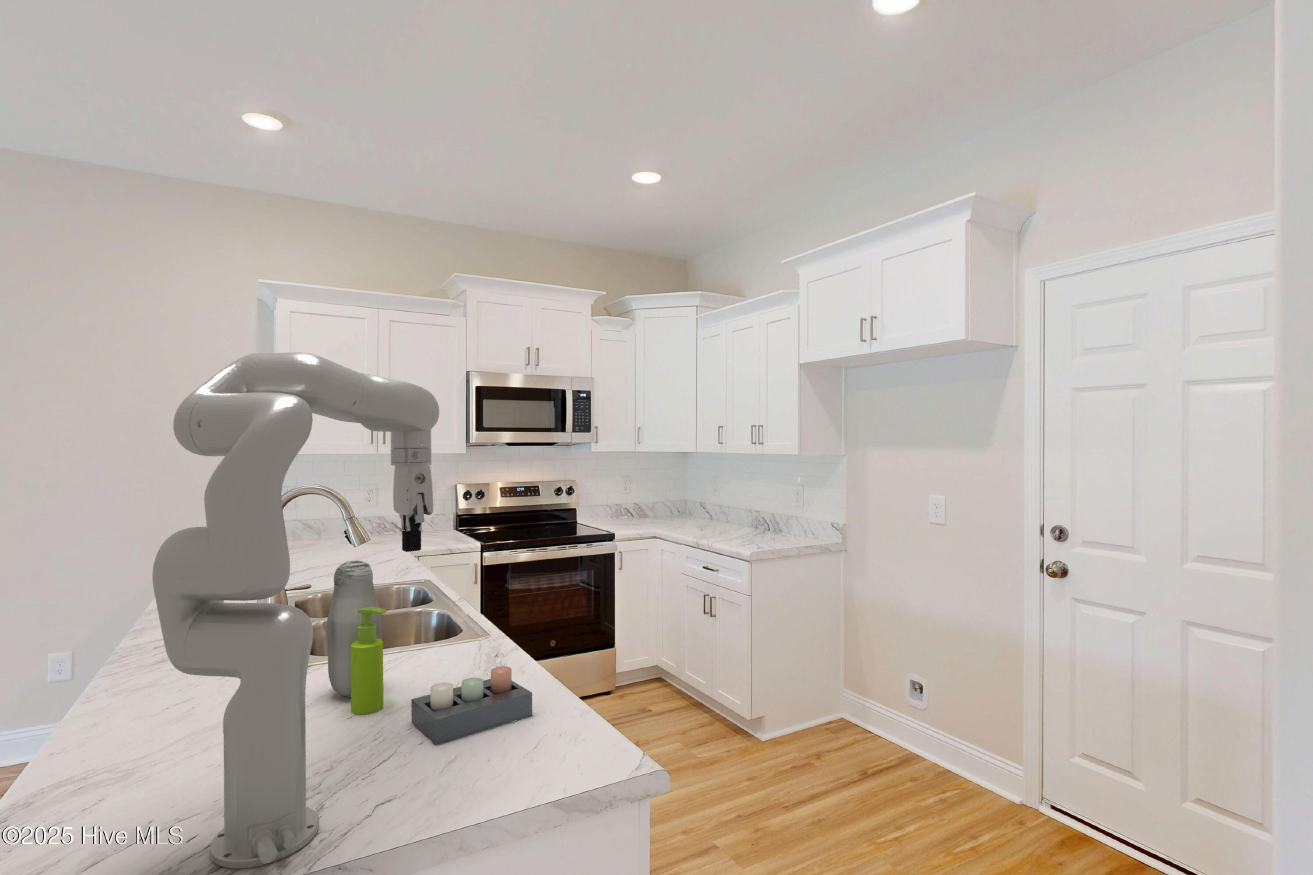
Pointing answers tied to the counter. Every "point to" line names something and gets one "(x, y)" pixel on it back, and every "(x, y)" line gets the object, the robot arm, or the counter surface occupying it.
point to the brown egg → (501, 680)
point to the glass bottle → (348, 619)
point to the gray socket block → (470, 713)
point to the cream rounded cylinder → (441, 696)
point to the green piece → (472, 689)
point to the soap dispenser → (367, 666)
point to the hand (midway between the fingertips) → (411, 550)
